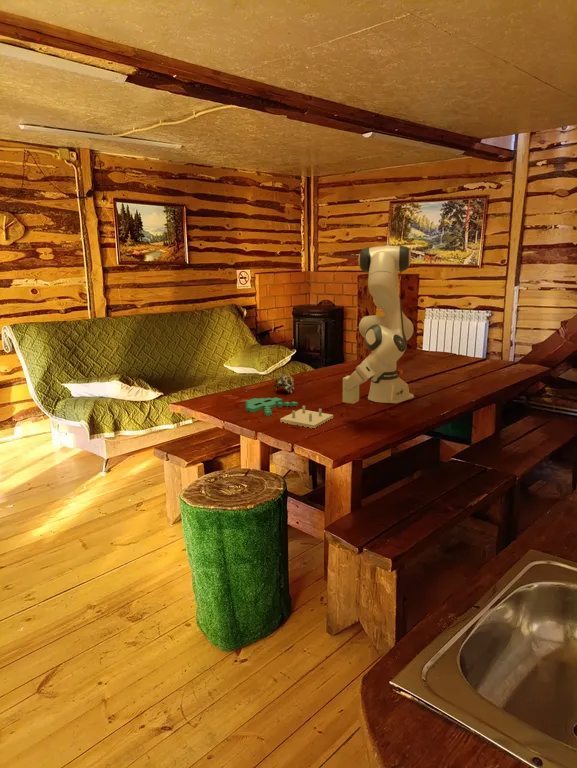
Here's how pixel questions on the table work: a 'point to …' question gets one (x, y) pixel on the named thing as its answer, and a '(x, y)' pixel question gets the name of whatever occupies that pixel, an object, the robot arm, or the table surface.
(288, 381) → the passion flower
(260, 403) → the alien figure
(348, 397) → the beige rectangular block
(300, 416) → the pin plate
